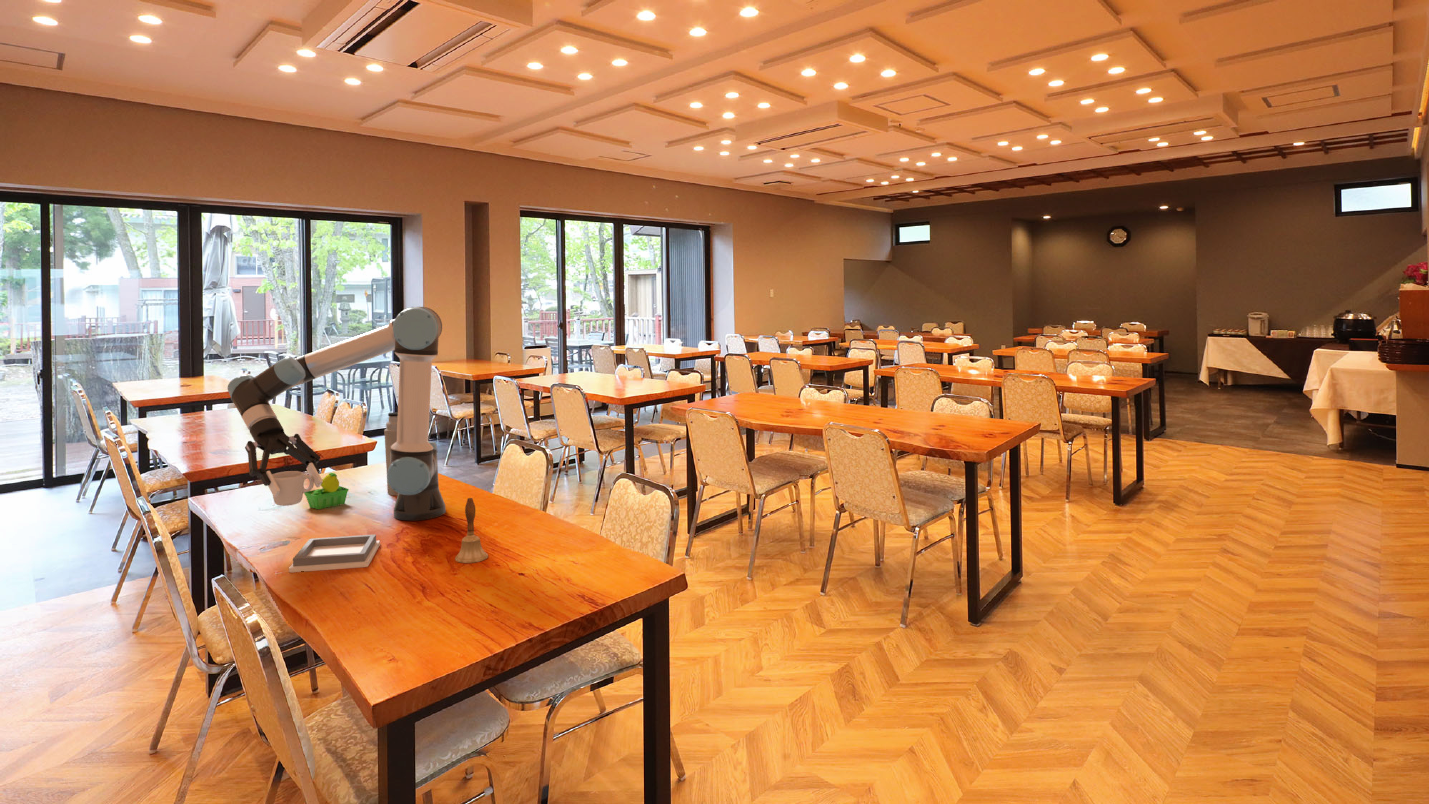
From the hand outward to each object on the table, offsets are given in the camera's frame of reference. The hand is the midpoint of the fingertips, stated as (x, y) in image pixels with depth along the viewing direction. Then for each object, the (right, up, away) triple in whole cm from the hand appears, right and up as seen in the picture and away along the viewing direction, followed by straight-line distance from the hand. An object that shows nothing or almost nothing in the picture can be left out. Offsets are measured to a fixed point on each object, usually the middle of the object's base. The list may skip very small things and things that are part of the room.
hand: (299, 489), depth 205 cm
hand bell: (+47, -18, -4) cm, 50 cm away
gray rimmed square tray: (+12, -17, -4) cm, 22 cm away
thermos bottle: (+1, -8, +63) cm, 63 cm away
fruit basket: (-15, -11, +45) cm, 49 cm away
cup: (-3, -4, +2) cm, 5 cm away
